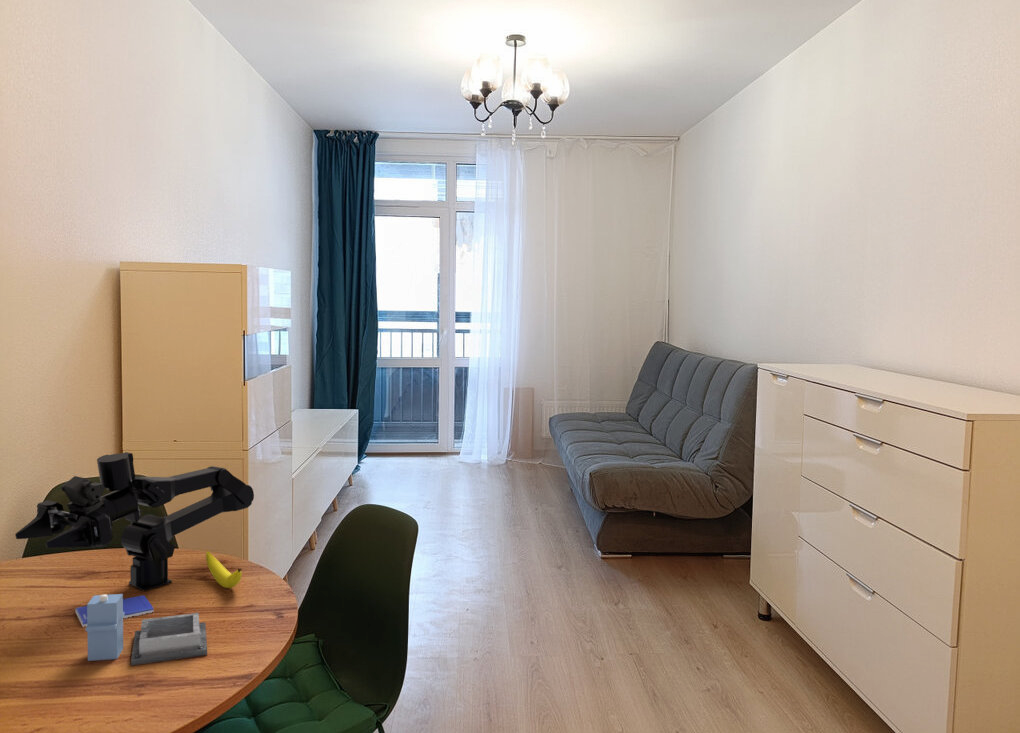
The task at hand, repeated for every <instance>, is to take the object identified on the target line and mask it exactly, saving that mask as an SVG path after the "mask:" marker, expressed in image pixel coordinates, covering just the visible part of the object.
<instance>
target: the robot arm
mask: <svg viewBox="0 0 1020 733" xmlns="http://www.w3.org/2000/svg"><path fill="white" fill-rule="evenodd" d="M96 463H97V469H98V474H99V475H98V476H99V481H100V482H96V481H95V482H92V480H89V479H87V478H85V477H81V476H77V475H74V476H73V477H72V478H70V479H69V480H68V481H66V482H65V483H64V484H62V485H61V487H60V489H61V490H62V491H63V492H64V493H65V495H66V496H67V498H68V500H69V501H70V502H68V503H67V509H68V510H69V512H68V511H64V507H63V506H64V505H63V504H62V503H60V502H56V501H52V500H48V499H47V500H44V501H41V502H39V503H38V502H37V505H36V513H37V514H36V516H35V517H34V518H33V519H32V520H31V521H30V522H29V523H27V524H25V526H24V527H22V528H21V529H20V530H18V531H17V532H16V533H15V536H14V537H15V539H16V540H25V539H36V538H45V537H46V538H47V537H52V538H50V539H49V540H47V541H46V542H45V546H46V548H48V549H51V548H52V549H53V548H55V549H56V548H57V549H58V548H95V547H97V548H103V547H105V546H108V545H110V544H111V542H112V540H113V538H114V537H113V536H114V535H113V530H112V527H113V522H116V521H118V520H121V519H123V518H124V519H125V520H126V521H130V524H128V525H126V526H125V527H124V529H123V532H122V533H121V537H120V544H121V546H122V547H123V548H124V549H125V552H126V553H127V555H128V556H130V557H132V565H130V570H129V571H130V572H129V573H130V575H129V576H130V578H129V579H130V580H128V585H130V586H133V587H134V588H135V589H138V590H140V591H144V592H145V591H148V590H151V589H155V588H159V587H162V586H163V587H164V586H166V585H169V584H172V582H173V581H172V580H173V579H172V580H171V579H170V578H169V572H168V571H169V567H168V566H169V564H168V562H169V558H172V557H173V556H174V553H175V547H176V546H175V545H173V544H172V543H171V539H172V538H173V537H174V536H176V535H179V534H180V533H183V532H184V531H186V530H188V529H191V528H193V527H195V526H197V525H199V524H201V523H203V522H206V521H208V520H209V519H212V518H213V517H216V516H218V515H219V514H220V515H221V514H222V513H228V512H238V511H241V510H245V509H249V507H250V506H251V505H252V503H253V501H254V498H255V494H254V489H253V487H252V486H251V485H249V484H246V483H245V482H243V481H242V480H241V479H239V478H237V477H236V476H234V475H233V474H232V473H231V472H230V471H229V470H228V469H227V468H226V467H225V468H224V467H222V466H221V467H220V466H214V465H211V466H208V467H207V468H203V469H198V470H194V471H188V472H184V473H181V474H176V475H171V476H163V477H162V476H140V477H139V476H136V472H135V465H134V455H133V453H132V452H127V451H125V452H122V453H114V454H113V453H112V454H105V455H101V456H99V457H98V458H97V459H96ZM207 488H209V489H210V490H211V495H210V496H208V497H205V498H203V499H201V500H199V501H197V502H195V503H192V504H190V505H188V506H186V507H183V508H181V509H179V510H177V511H174V512H172V513H170V514H167V515H166V516H163V517H161V516H157V515H153V514H148V513H147V514H145V515H142V516H141V514H142V513H143V510H142V509H140V508H139V505H140V506H146V507H151V508H159V507H161V506H163V505H165V504H168V503H169V502H171V501H172V500H173V499H174V498H175V497H178V496H180V495H184V494H187V493H191V492H197V491H199V490H203V489H207ZM105 490H107V491H109V493H106V494H104V495H103V493H104V492H105ZM66 526H69V527H70V528H68V529H67V530H65V528H66ZM64 530H65V531H64ZM56 534H57V535H56ZM53 535H56V536H54V537H53Z"/></svg>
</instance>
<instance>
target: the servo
mask: <svg viewBox="0 0 1020 733" xmlns="http://www.w3.org/2000/svg"><path fill="white" fill-rule="evenodd" d="M123 599H124V594H123V593H118V594H117V593H116V594H114V593H113V594H106V593H105V594H99V595H98V594H97V595H93V596H92V597H91V598H90V600H89V602H88V603H87V604H86V606H87V626H86V627H85V632H87V661H88V662H91V661H94V662H95V661H106V660H108V661H109V660H117V659H118V658H119V656H120V655H121V653H122V651H123V650H124V619H123V617H124V612H123Z"/></svg>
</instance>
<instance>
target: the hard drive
mask: <svg viewBox="0 0 1020 733" xmlns="http://www.w3.org/2000/svg"><path fill="white" fill-rule="evenodd" d="M123 612H124V617H123V618H124V619H128V617H129V618H132V616H134V617H137V616H142V614H143V615H147V614H146V613H148V614H151V613H152V612H153V613H154V607H153V606H152V603H150V601H149V600H148V598H147V597H146V596H145V594H142V595H138V596H133V597H128V598H127V597H126V598H123ZM75 614H76V616H77V618H78V620H79V622H80V624H81V626H82V628H85V627H84V626H87V605H84V606H80V607H79V606H78V607H76V608H75Z"/></svg>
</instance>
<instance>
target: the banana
mask: <svg viewBox="0 0 1020 733" xmlns="http://www.w3.org/2000/svg"><path fill="white" fill-rule="evenodd" d="M205 554H206V555H205V557H206V558H205V559H206V564H207V567H208V570H209V571H210V574H211V576H212V577H213V578H214V579H215V581H216V582H217V584H218V585H220V586H221V587H222V588H225V589H232V588H234V587H236V586H237V585H238V584H240V581H241V580H242V579H241V578H242V575H243V574H242V570H243V569H242V568H238V569H237V570H236V571H233V572H230V571H229V570H228V569H227V568H226V567H225V566H224V565H223V564H222V563H221V562H220V561H219V559H217V558H216V557H215V556H214V555H213V554H212V553H211V552H210V550H209V551H206V553H205Z"/></svg>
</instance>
